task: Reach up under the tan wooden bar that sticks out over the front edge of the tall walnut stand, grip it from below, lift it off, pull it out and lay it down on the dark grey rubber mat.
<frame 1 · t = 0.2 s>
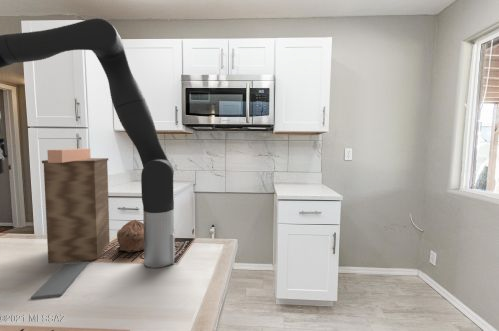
stand: (81, 252, 91), on the table
tan wooden bar: (72, 160, 83), point 32 cm above the table, touching stand
mat: (63, 279, 73), on the table
decorative rock: (134, 249, 95), on the table
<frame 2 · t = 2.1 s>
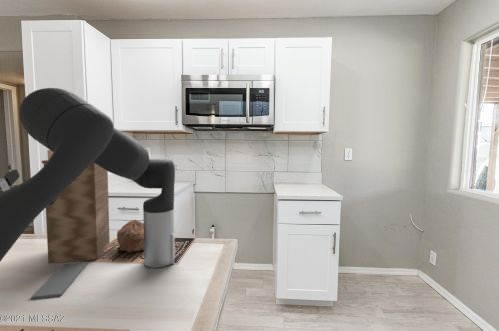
hand: (37, 172, 62), 31 cm above the table, tool pointing upward, fingers open, 8 cm apart
nothing on the table moved.
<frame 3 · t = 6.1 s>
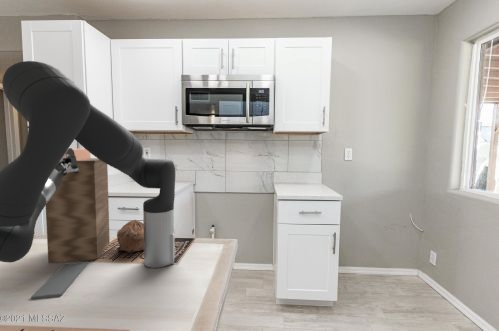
hand: (63, 150, 78), 36 cm above the table, tool pointing upward, fingers closed on tan wooden bar, 3 cm apart
tan wooden bar: (72, 160, 83), point 32 cm above the table, touching gripper, stand
everything else where it was.
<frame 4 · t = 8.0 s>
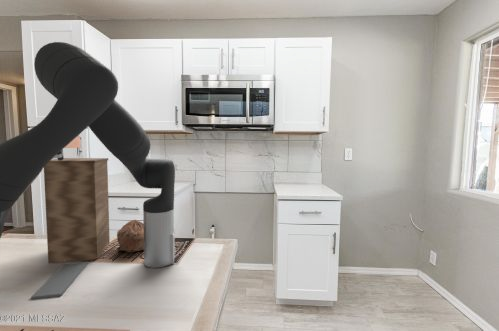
hand: (47, 136, 69), 40 cm above the table, tool pointing upward, fingers closed on tan wooden bar, 3 cm apart
tan wooden bar: (58, 147, 75), point 37 cm above the table, touching gripper
everything else where it was.
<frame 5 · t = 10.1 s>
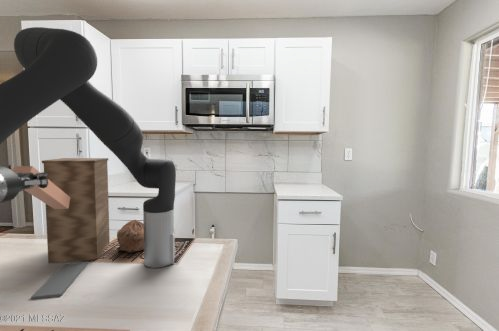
hand: (34, 176, 63), 30 cm above the table, tool horizontal, fingers closed on tan wooden bar, 3 cm apart
tan wooden bar: (43, 196, 66), point 24 cm above the table, tilted 30°, touching gripper
everything else where it was.
when the fingers open (14 cm above the table, at t = 13.4 s): tan wooden bar drops 8 cm, resting on mat.
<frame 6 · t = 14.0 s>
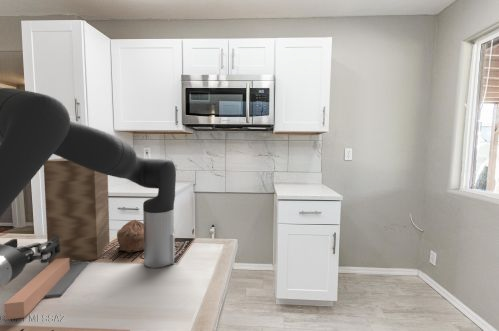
hand: (36, 241, 63), 14 cm above the table, tool horizontal, fingers open, 8 cm apart
tan wooden bar: (42, 290, 66), point 1 cm above the table, touching mat
everything else where it was.
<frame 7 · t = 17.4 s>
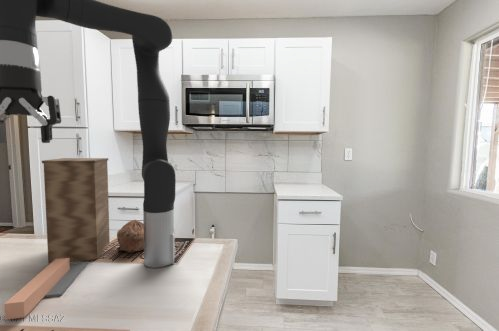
hand: (23, 142, 58), 38 cm above the table, tool pointing down, fingers open, 8 cm apart
nothing on the table moved.
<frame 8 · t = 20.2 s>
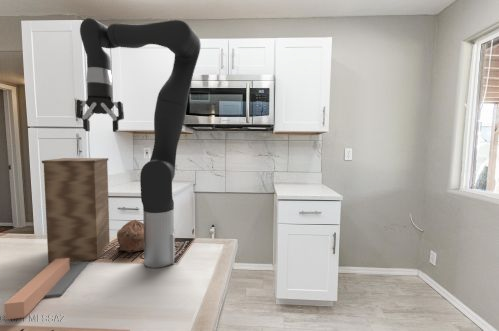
hand: (101, 131, 90), 42 cm above the table, tool pointing down, fingers open, 8 cm apart
nothing on the table moved.
at the end: tan wooden bar inside the target area (4.8 cm from its centre), point 0.6 cm above the table; tan wooden bar touching mat; the gripper is holding nothing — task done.
